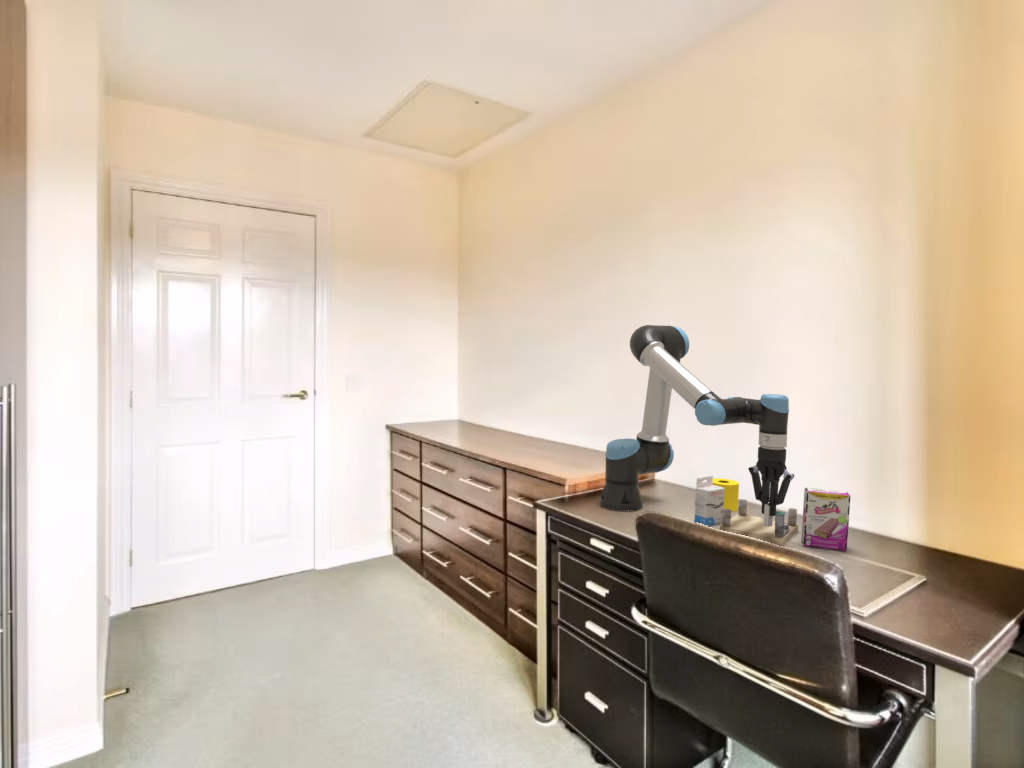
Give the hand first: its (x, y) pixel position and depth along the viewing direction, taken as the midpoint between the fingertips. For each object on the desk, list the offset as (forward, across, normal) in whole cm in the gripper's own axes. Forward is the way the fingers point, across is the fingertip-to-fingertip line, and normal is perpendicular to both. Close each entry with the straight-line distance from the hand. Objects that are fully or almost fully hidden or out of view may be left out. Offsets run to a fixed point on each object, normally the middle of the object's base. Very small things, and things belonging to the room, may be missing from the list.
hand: (767, 525), depth 165 cm
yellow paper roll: (+5, -27, +20) cm, 34 cm away
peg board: (+5, -5, +5) cm, 9 cm away
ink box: (+5, -20, 0) cm, 20 cm away
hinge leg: (+2, +3, +3) cm, 5 cm away
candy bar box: (+5, +12, +8) cm, 16 cm away
